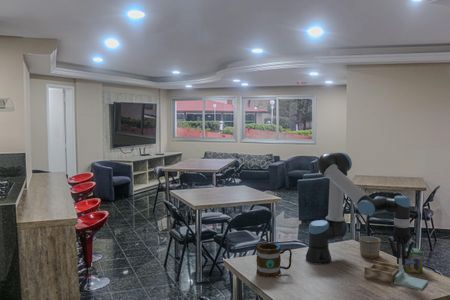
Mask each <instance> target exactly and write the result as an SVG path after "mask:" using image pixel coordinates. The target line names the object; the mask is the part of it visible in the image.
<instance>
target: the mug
mask: <svg viewBox="0 0 450 300" xmlns="http://www.w3.org/2000/svg"><path fill="white" fill-rule="evenodd" d="M281 248H282V246H281V245H279V244H277V243H271V242H265V243H264V242H263V243H259V244H257V245H256V275H258V276H259V277H261V278H267V277H269V278H268V279H271V278H270V277H272V278H277V277H276V276H278V277H279V276H280V275H281V274H282V273H281V269H282V270H290V269H291V267H292V255H293V253H292V249H291V248H288V247H286V248H284V249H282V250H281ZM286 251H289V258H288V266H283V265H281V262H282V259H281V255H282V254H284V253H285V252H286ZM279 274H280V275H279Z"/></svg>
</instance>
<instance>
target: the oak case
mask: <svg viewBox="0 0 450 300" xmlns="http://www.w3.org/2000/svg"><path fill="white" fill-rule="evenodd" d="M399 272H400V271H399V264H394V263H393V264H392V263H389V262H384V261H380V260H379V261H378V260H375V259H373V260H372V263H371V264H370V265H368V266H367V267H366V266H364V273H363V275H364V278H366V279H371V280H373V281H374V280H375V281H379V282H383V283H386V284H394V281H395V276H396V275H397V274H398V273H399Z"/></svg>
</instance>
